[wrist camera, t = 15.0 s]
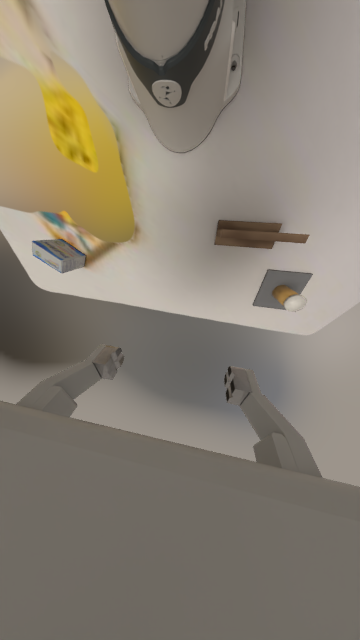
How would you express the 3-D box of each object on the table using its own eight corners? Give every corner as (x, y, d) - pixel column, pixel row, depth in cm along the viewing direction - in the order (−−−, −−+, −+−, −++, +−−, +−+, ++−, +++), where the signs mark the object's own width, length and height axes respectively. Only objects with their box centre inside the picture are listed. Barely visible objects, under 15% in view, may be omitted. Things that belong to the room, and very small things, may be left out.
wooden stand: (218, 220, 31) (225, 215, 21) (280, 223, 29) (317, 220, 20) (214, 244, 34) (218, 249, 24) (270, 248, 32) (298, 255, 23)
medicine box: (86, 255, 41) (62, 260, 34) (84, 267, 43) (61, 274, 36) (62, 238, 39) (30, 240, 32) (61, 251, 42) (31, 255, 35)
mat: (267, 269, 35) (268, 270, 35) (311, 273, 34) (312, 274, 33) (252, 305, 41) (253, 305, 41) (288, 309, 40) (289, 310, 40)
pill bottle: (275, 283, 36) (291, 295, 30) (291, 285, 36) (310, 297, 29) (269, 297, 39) (282, 310, 32) (283, 299, 38) (300, 312, 32)
